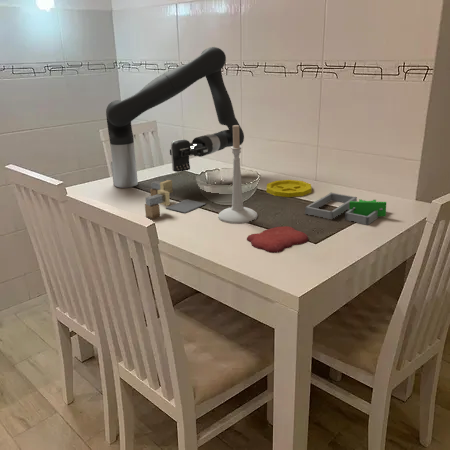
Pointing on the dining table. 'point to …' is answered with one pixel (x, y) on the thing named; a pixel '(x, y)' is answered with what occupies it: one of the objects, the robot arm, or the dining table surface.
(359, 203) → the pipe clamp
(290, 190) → the decorative disc
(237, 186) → the candlestick
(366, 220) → the parts corral
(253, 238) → the patty
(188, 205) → the plate
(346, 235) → the dining table surface
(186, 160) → the battery charger
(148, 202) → the set of rectangular blocks
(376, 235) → the dining table surface
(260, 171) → the dining table surface
